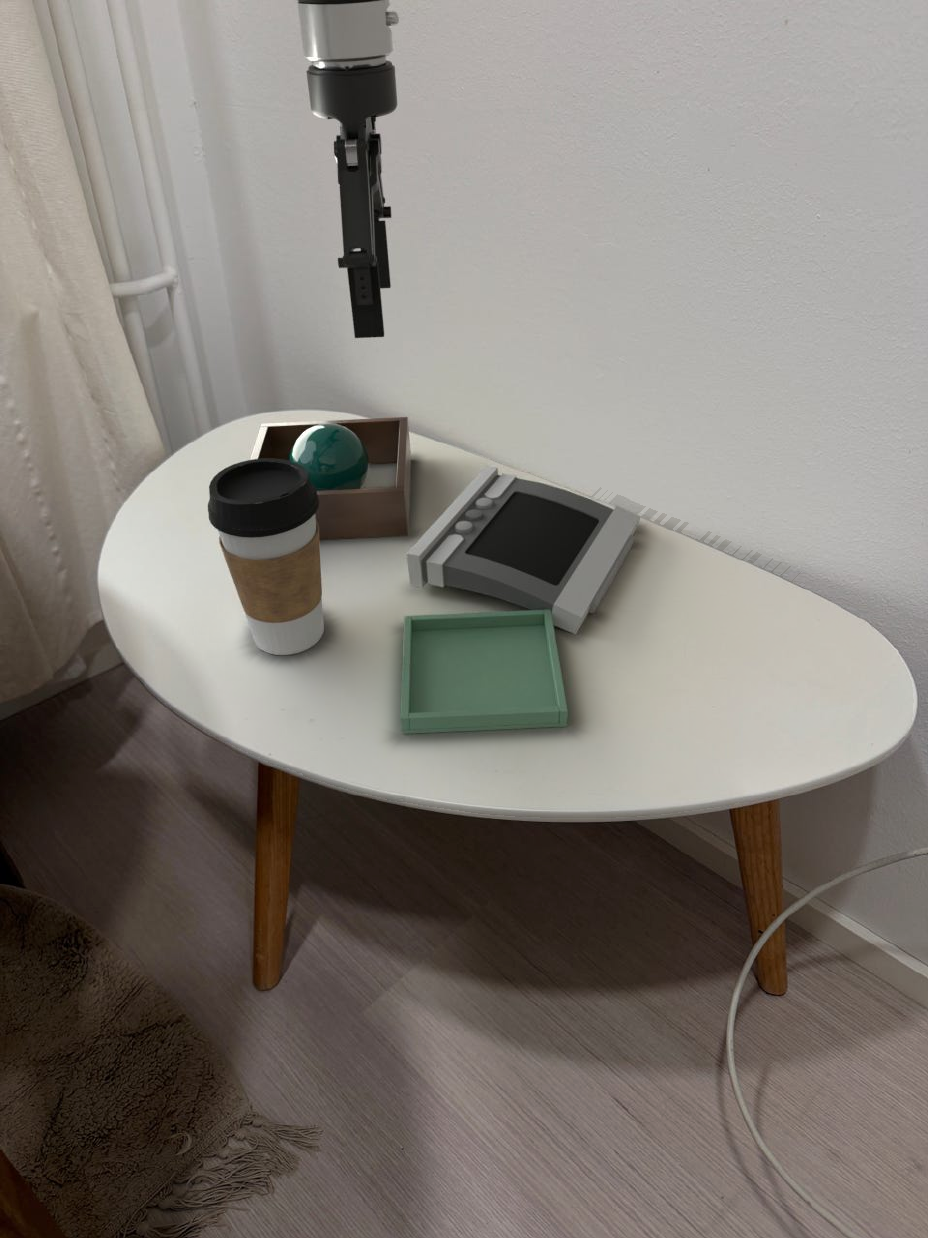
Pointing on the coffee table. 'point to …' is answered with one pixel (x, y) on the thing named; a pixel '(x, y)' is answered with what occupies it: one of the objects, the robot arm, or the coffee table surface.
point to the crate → (356, 507)
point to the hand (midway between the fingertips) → (373, 310)
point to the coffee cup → (272, 549)
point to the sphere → (332, 457)
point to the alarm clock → (526, 546)
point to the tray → (481, 672)
